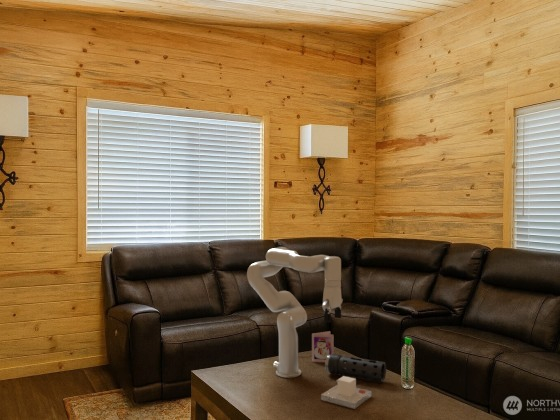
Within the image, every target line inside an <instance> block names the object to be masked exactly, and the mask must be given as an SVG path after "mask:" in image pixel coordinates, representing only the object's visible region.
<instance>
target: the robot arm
mask: <svg viewBox="0 0 560 420" xmlns="http://www.w3.org/2000/svg"><path fill="white" fill-rule="evenodd" d="M265 259H266V260H261V261H256V262H254V263H251V264H250V265H249V267H248V268H247V272H246V277H247V281H248V284H249V285H250V287H251V288H252V289H253V290H254V291H255V293H257V295H258V296H259V297H260V299H261V300H262V301H263V302H264V304H265V305H266V307H267V308H268V309H269V310H270V311H271V312H272V313H279V312H280V313H279V314H278V315H277V318H276V325H277V330H278V361H274V362H273V365H272V367H273V368H276V370H275V375H276V376H278V377H281V378H287V379H291V378H297V377H299V376H301V374H302V370H301V369H300V368H299V336H298V332H297V329H296V328H298V327H300V326H301V327H302V325H304V324H306V323H307V320H308V315H307V311H306V310H305V308H304V307H303V305H301V303H300V302H299V301H298V299H297V298H296V296H295V295H293V294H292V293H291V292H290V291H287V290H280V291H278V290H277V289H276V287H274V285H273V284H272V283H271V282H270V281H268V280H267V279H265V278H269V277H272V276H274V275H276V274H277V273H279V272H280V270H282V269H283V268H288V269H289V268H290V269H293V270H295V271H298V272H303V273H309V274H311V273H312V274H313V273H317V272H322V271H323V272H324V288H323V294H322V295H323V296H322V305H321V307H322V311H323V321H324V322H325V323H329V324H330V323H331V322H332V319H331V318H332V317H331V316H332V314H331V311H332V310H333V309H334V318H335V319H341V318H342V307H343V301H344V299H343V298H342V288H341V287H342V283H341V282H342V259H341V258H340V257H339V256H335V255H333V256H332V255H331V256H329V255H326V254H318V255H311V256H309V255H299V253H298V252H297V251H296V250H291V249H289V248H287V247H284V246H280V247H274V248H270V249H269V250H267V252H266V254H265Z"/></svg>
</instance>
